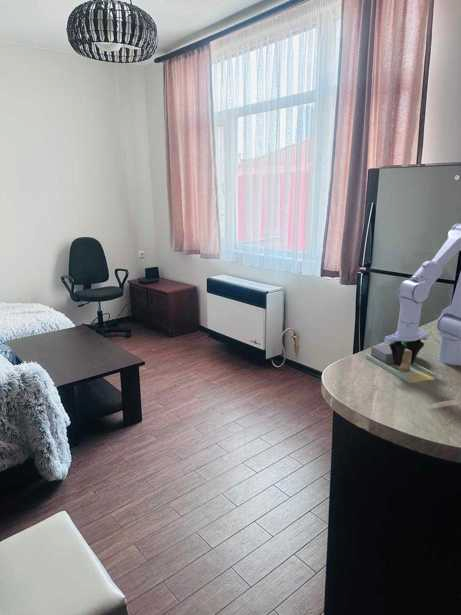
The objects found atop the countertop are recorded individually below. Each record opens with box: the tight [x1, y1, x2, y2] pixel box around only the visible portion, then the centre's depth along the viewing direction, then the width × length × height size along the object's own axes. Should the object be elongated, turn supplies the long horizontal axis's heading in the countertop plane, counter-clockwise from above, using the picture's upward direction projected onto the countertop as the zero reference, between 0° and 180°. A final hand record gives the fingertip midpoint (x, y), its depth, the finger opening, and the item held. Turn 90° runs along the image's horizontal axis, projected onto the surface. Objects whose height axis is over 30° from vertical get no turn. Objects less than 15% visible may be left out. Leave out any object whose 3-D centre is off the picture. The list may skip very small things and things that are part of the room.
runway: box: [364, 353, 438, 384], centre depth 130 cm, size 10×20×2 cm, turn 19°
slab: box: [370, 344, 395, 366], centre depth 135 cm, size 8×7×4 cm
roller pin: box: [396, 349, 412, 372], centre depth 128 cm, size 4×4×6 cm
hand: (403, 364), depth 128 cm, fingers closed on roller pin, 4 cm apart
